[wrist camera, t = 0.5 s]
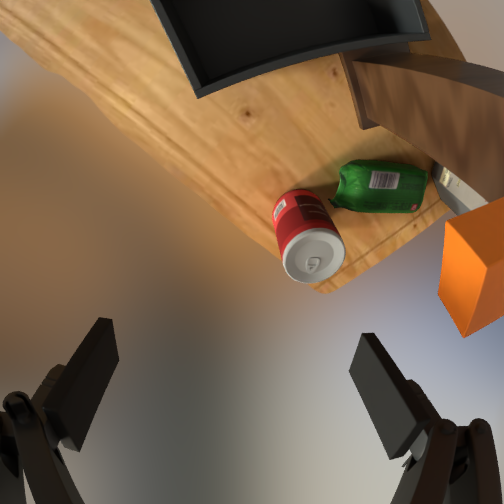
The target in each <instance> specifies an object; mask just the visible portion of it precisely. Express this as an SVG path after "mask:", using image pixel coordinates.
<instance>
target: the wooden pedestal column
mask: <svg viewBox="0 0 504 504" xmlns="http://www.w3.org/2000/svg"><path fill="white" fill-rule="evenodd" d="M339 56H340V59H341V62H342V65H343V68H344V71H345V74H346V78H347V81H348V85H349V88H350V92H351V95H352V99H353V103H354V106H355V110H356V114H357V118H358V122H359V127H360V128H361V129H362V130H365V129H369V128H373V127H376V126H380V125H381V126H383V127H384V128H386V129H388V130H389V131H391V132H393V133H394V134H396V135H398V136H399V137H401V138H402V139H404V140H406V141H407V142H409V143H410V144H412V145H413V146H415V147H416V148H418V149H419V150H421V151H422V152H424V153H425V154H427V155H428V156H430V157H431V158H433V159H434V160H435V161H437V162H438V163H440V164H441V165H442V166H444V167H445V168H446V169H448V170H449V171H450V172H452V173H453V174H454V175H456V176H457V177H458V178H459V179H461V180H462V181H463V182H465V183H466V184H467V185H468V186H470V187H471V188H472V189H473V190H474V191H476V192H477V193H478V194H479V195H480V196H481V197H483V198H484V199H485V200H486V201H487V202H488V203H491V202H493V201H495V200H498V199H500V198H502V197H504V72H502V71H499V70H495V69H492V68H488V67H485V66H481V65H476V64H473V63H468V62H464V61H459V60H454V59H449V58H444V57H438V56H431V55H425V54H417V53H410V49H409V46H408V42H403V43H394V44H387V45H380V46H373V47H367V48H361V49H356V50H351V51H346V52H341V53H339Z"/></svg>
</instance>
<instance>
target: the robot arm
mask: <svg viewBox="0 0 504 504" xmlns="http://www.w3.org/2000/svg"><path fill="white" fill-rule="evenodd" d="M118 362H119V356H118V351H117V345H116V340H115V334H114V328H113V322H112V319H107V318H101V317H99V318H98V320H97V321H96V322H95V324H94V326H93V327H92V328H91V330H90V331H89V332H88V334H87V335H86V337H85V338H84V340H83V341H82V343H81V344H80V346H79V347H78V348H77V350H76V352H75V353H74V354H73V356H72V357H71V359H70V361H69V362H68V364H67V365H66V366H64V365H61V364H58V365H56V366H55V367H54V368H52V369H51V370H50V371H49V373H48V374H47V376H46V378H45V379H44V380H43V382H42V385H40V386H39V388H38V389H37V391H36V392H35V394H34V395H33V397H32V399H31V400H30V399H29V397H28V395H27V394H25V393H24V392H20V391H16V392H12V393H9V394H8V395H7V396H6V397H5V399H4V401H3V408H4V409H5V411H6V412H1V411H0V504H26V496H25V488H24V477H23V469H24V473H25V476H26V479H27V482H28V484H29V487H30V490H31V492H32V496H33V498H34V501H35V503H36V504H85V503H84V502H83V500H82V498H81V496H80V494H79V492H78V490H77V488H76V486H75V484H74V482H73V480H72V478H71V476H70V474H69V471H68V469H67V467H66V465H65V463H64V460H63V458H62V455H61V453H60V450H59V449H58V447H57V446H58V443H59V441H61V443H62V444H63V446H64V447H65V448H68V449H71V450H74V451H77V452H80V450H81V448H82V445H83V443H84V440H85V437H86V435H87V432H88V430H89V428H90V425H91V423H92V420H93V418H94V415H95V413H96V411H97V408H98V406H99V404H100V402H101V399H102V397H103V395H104V392H105V390H106V388H107V386H108V383H109V381H110V379H111V377H112V375H113V372H114V370H115V368H116V366H117V364H118ZM349 373H350V375H351V377H352V379H353V381H354V383H355V385H356V387H357V390H358V392H359V394H360V396H361V398H362V400H363V402H364V405H365V407H366V409H367V411H368V413H369V415H370V417H371V419H372V422H373V424H374V426H375V428H376V430H377V433H378V435H379V437H380V439H381V441H382V444H383V446H384V448H385V450H386V452H387V455H388V457H389V460H391V459H395V458H399V457H402V456H404V455H405V454H406V452H407V451H408V450H409V449H410V451H411V453H412V454H411V456H410V457H409V458H408V459H407V460H406V462H405V463H404V464H403V466H402V467H404V466H405V465H406V464H407V465H406V468H405V470H404V473H403V476H402V478H401V480H400V483H399V485H398V488H397V490H396V492H395V495H394V497H393V499H392V501H391V503H390V504H502V492H501V483H500V474H499V467H498V461H497V455H496V450H495V445H494V439H493V435H492V430H491V427H490V425H489V424H488V422H487V421H485V420H484V419H480V418H477V419H474V420H472V422H471V423H470V425H469V426H456V424H455V423H454V422H452V421H450V420H448V419H442V418H441V417H440V415H439V414H438V412H437V411H436V409H435V408H434V406H433V405H432V403H431V402H430V400H428V398H427V396H426V394H424V392H423V390H422V389H421V387H420V386H419V385H418V384H417V383H416V382H414V381H413V380H412V379H411V380H406V379H405V377H404V376H403V374H402V373H401V371H400V370H399V368H398V367H397V366H396V364H395V362H394V361H393V360H392V358H391V357H390V355H389V354H388V352H387V351H386V350H385V348H384V347H383V345H382V344H381V342H380V341H379V339H378V338H377V336H376V335H375V334H374V333H362V334H361V337H360V341H359V344H358V346H357V349H356V352H355V355H354V358H353V361H352V364H351V367H350V369H349Z"/></svg>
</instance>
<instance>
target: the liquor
mask: <svg viewBox="0 0 504 504" xmlns="http://www.w3.org/2000/svg"><path fill="white" fill-rule="evenodd" d="M431 175H432V178H433V180H434V183H435V185H436V188H437V191H438V193H439V196H440V199H441V200H442V201H443V202H444V203H445V204H446V205H447V206H448V207H449V208H450V209H451V210H452V211H453V212H454V213H456V215H457V216H459V215H462V214H464V213H466V212H469V211H471V210H474V209H476V208H479V207H481V206H483V205H486V204H488V202H487V201H486V200H485V199H484V198H483V197H481V196H480V195H479V194H478V193H477V192H476V191H474V190H473V189H472V188H471V187H470V186H468V185H467V184H466V183H465V182H463V181H462V180H461V179H459V178H458V177H457V176H456V175H454V174H453V173H452V172H450V171H449V170H448V169H446V168H445V167H444V166H442V165H441V164H440V163H438V162H437V161H435V163H434V166H433V170H432V173H431Z"/></svg>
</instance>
